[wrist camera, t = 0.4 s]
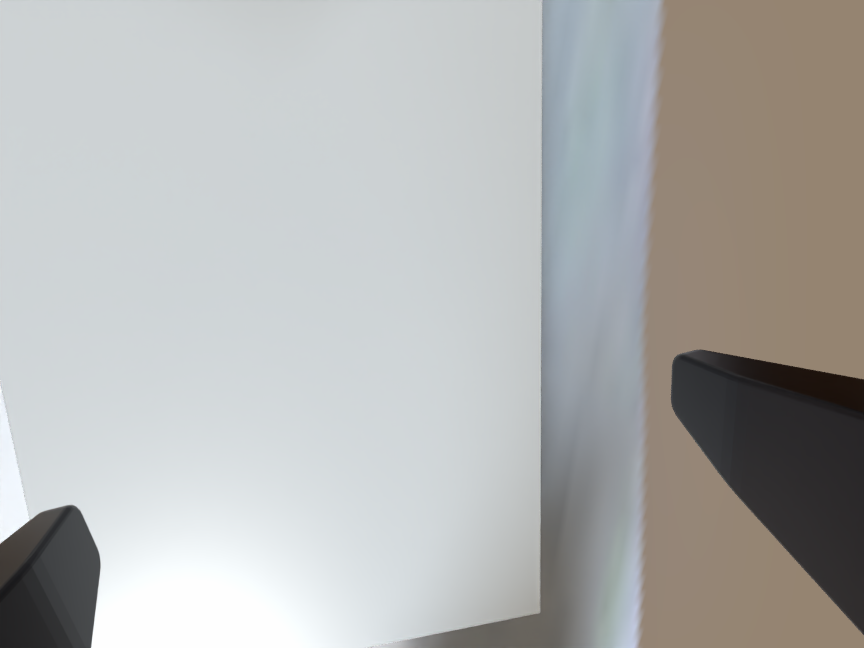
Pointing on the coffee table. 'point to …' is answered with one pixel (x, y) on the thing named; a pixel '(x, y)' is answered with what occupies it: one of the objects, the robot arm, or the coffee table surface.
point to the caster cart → (278, 310)
